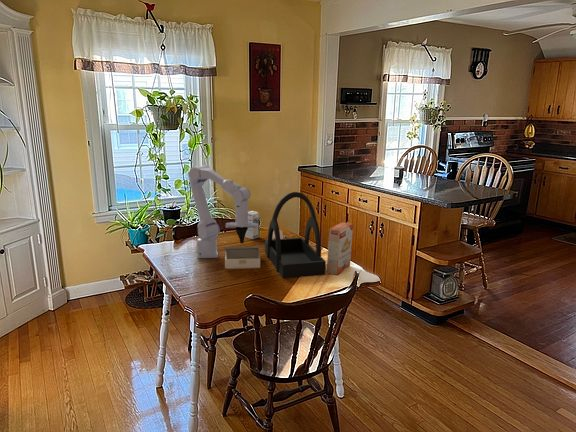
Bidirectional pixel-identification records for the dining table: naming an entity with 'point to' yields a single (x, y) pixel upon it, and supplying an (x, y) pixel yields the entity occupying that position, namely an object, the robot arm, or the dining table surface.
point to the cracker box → (339, 248)
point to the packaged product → (280, 235)
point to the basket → (295, 246)
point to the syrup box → (253, 218)
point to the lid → (242, 248)
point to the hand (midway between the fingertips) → (242, 242)
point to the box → (242, 258)
